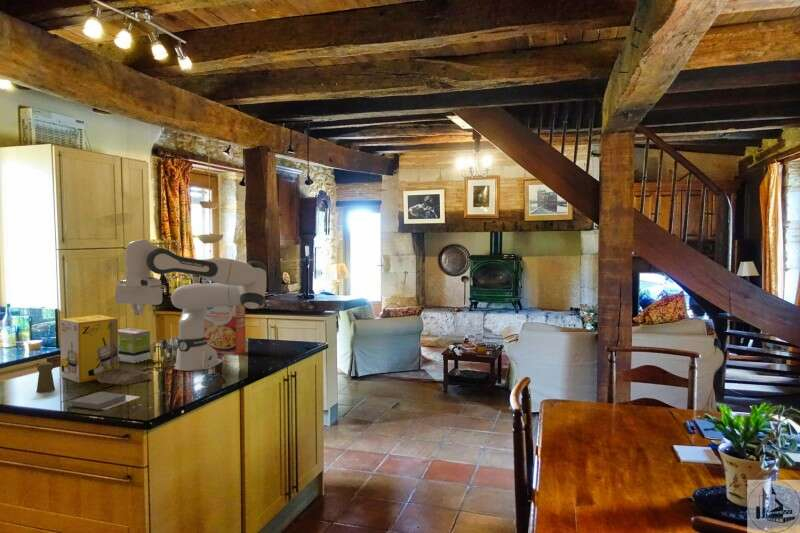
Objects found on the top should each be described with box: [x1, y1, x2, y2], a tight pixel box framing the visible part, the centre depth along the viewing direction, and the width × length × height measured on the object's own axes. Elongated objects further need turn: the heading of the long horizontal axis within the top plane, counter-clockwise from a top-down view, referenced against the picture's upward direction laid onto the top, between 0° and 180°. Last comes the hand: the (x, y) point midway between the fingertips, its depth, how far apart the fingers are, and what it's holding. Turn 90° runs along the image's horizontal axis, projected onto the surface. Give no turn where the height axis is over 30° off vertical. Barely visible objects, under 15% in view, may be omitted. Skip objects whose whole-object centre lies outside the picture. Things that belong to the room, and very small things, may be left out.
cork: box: [36, 361, 56, 394], centre depth 205 cm, size 6×6×11 cm
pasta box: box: [204, 305, 246, 356], centre depth 279 cm, size 23×8×30 cm, turn 71°
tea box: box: [118, 327, 151, 364], centre depth 258 cm, size 15×10×15 cm
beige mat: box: [100, 394, 140, 411], centre depth 191 cm, size 16×16×1 cm
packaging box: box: [59, 314, 120, 384], centre depth 227 cm, size 16×16×25 cm
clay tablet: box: [96, 368, 150, 386], centre depth 221 cm, size 14×5×20 cm
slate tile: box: [70, 391, 127, 410], centre depth 188 cm, size 2×12×12 cm
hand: (138, 315), depth 210 cm, fingers closed
